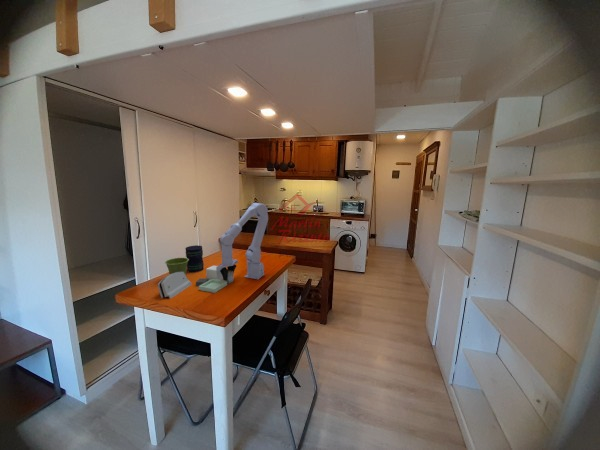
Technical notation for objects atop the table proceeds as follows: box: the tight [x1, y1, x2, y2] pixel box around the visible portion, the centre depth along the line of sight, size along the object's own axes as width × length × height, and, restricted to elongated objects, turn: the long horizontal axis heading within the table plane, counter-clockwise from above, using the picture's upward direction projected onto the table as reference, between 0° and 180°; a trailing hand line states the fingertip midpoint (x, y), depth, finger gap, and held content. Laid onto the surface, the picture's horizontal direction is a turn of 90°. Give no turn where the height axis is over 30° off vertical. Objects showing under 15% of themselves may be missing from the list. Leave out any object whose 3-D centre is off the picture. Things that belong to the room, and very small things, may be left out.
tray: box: [198, 279, 228, 294], centre depth 118 cm, size 10×10×2 cm
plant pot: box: [164, 257, 189, 276], centre depth 127 cm, size 12×12×11 cm
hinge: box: [157, 272, 193, 300], centre depth 114 cm, size 17×5×10 cm, turn 171°
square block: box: [195, 277, 209, 287], centre depth 122 cm, size 5×5×2 cm
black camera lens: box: [184, 245, 205, 274], centre depth 142 cm, size 10×10×15 cm
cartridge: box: [222, 270, 234, 285], centre depth 125 cm, size 4×4×6 cm
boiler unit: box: [205, 265, 223, 281], centre depth 128 cm, size 8×6×7 cm
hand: (228, 278), depth 125 cm, fingers closed on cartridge, 4 cm apart
